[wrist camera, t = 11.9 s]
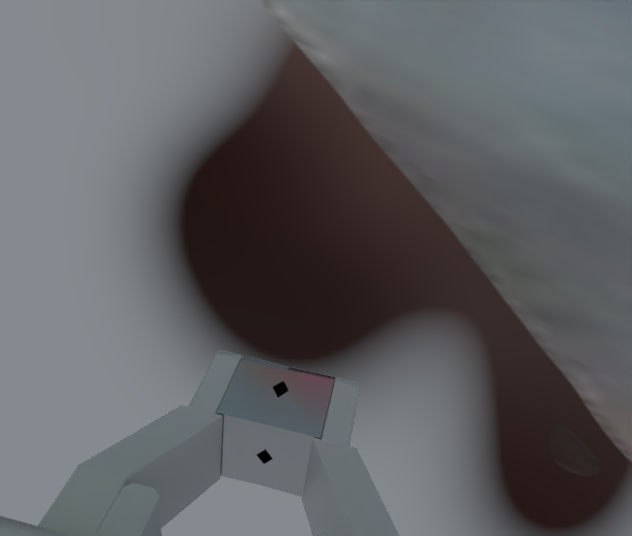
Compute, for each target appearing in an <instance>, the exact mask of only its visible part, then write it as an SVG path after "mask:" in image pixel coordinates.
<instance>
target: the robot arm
mask: <svg viewBox="0 0 632 536" xmlns="http://www.w3.org/2000/svg"><path fill="white" fill-rule="evenodd" d="M334 383H335V384H334ZM359 391H360V383H359V382H354V381H350V380H346V379H341V378H336V380H335V377H332V376H328V375H323V374H319V373H315V372H310V371H306V370H301V369H297V368H292V367H287V366H283V365H279V364H275V363H271V362H267V361H264V360H259V359H256V358H252V357H248V356H242V355H238V354H235V353H231V352H227V351H223V350H220V351H219V352H218V353H217V354H216V355H215V357H214V359H213V361H212V363H211V365H210V367H209V369H208V370H207V372H206V374H205V376H204V378H203V380H202V382H201V384H200V386H199V388H198V390H197V392H196V393H195V396H194V397H193V399H192V401H191V403H190V405H189V407H187V406H180V407H178V408H176V409H175V410H173V411H171V412H169V413H168V414H166V415H164V416H162V417H161V418H159V419H157V420H156V421H154V422H152V423H150V424H149V425H147V426H145V427H144V428H142V429H140V430H138V431H137V432H135V433H133V434H132V435H130V436H128V437H126V438H125V439H123V440H121V441H120V442H118V443H116V444H114V445H113V446H111V447H109V448H108V449H106V450H104V451H102V452H101V453H99V454H97V455H95V456H94V457H92V458H90V459H88V460H87V461H85V462H83V463H82V464H80V465H78V466H77V468H76V470H75V471H74V472H73V474H72V475H71V477H70V478H69V480H68V481H67V483H66V484H65V486H64V487H63V489H62V490H61V492H60V493H59V495H58V496H57V498H56V499H55V501H54V502H53V504H52V505H51V507H50V508H49V510H48V512H47V513H46V515H45V516H44V517H43V519H42V520H41V522H40V523H39V525H38V526H35V525H32V524H28V523H24V522H21V521H17V520H13V519H9V518H6V517H3V516H0V536H162V534H161V528H162V527H163V526H165V525H166V524H167V523H168V522H169V521H170V520H172V519H173V518H174V517H175V516H176V515H178V514H179V513H180V512H181V511H182V510H184V509H185V508H186V507H187V506H188V505H189V504H191V503H192V502H193V501H194V500H195V499H196V498H198V497H199V496H200V495H201V494H202V493H203V492H205V491H206V490H207V489H208V488H209V487H211V486H212V485H213V484H214V483H215V482H217V481H218V480H219V479H220V476H224V477H228V478H233V479H237V480H241V481H246V482H251V483H255V484H259V485H263V486H266V487H270V488H273V489H277V490H280V491H284V492H287V493H291V494H294V495H298V496H301V497H302V502H303V505H304V508H305V512H306V515H307V518H308V521H309V524H310V528H311V531H312V534H313V536H399V534H398V532H397V530H396V528H395V526H394V524H393V522H392V520H391V518H390V516H389V514H388V512H387V510H386V508H385V506H384V504H383V502H382V500H381V498H380V496H379V493H378V492H377V489H376V487H375V485H374V483H373V481H372V479H371V477H370V475H369V473H368V471H367V469H366V467H365V465H364V463H363V461H362V459H361V457H360V455H359V453H358V451H357V449H356V448H353V447H349V445H350V440H351V434H352V429H353V423H354V417H355V412H356V407H357V402H358V396H359Z"/></svg>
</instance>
